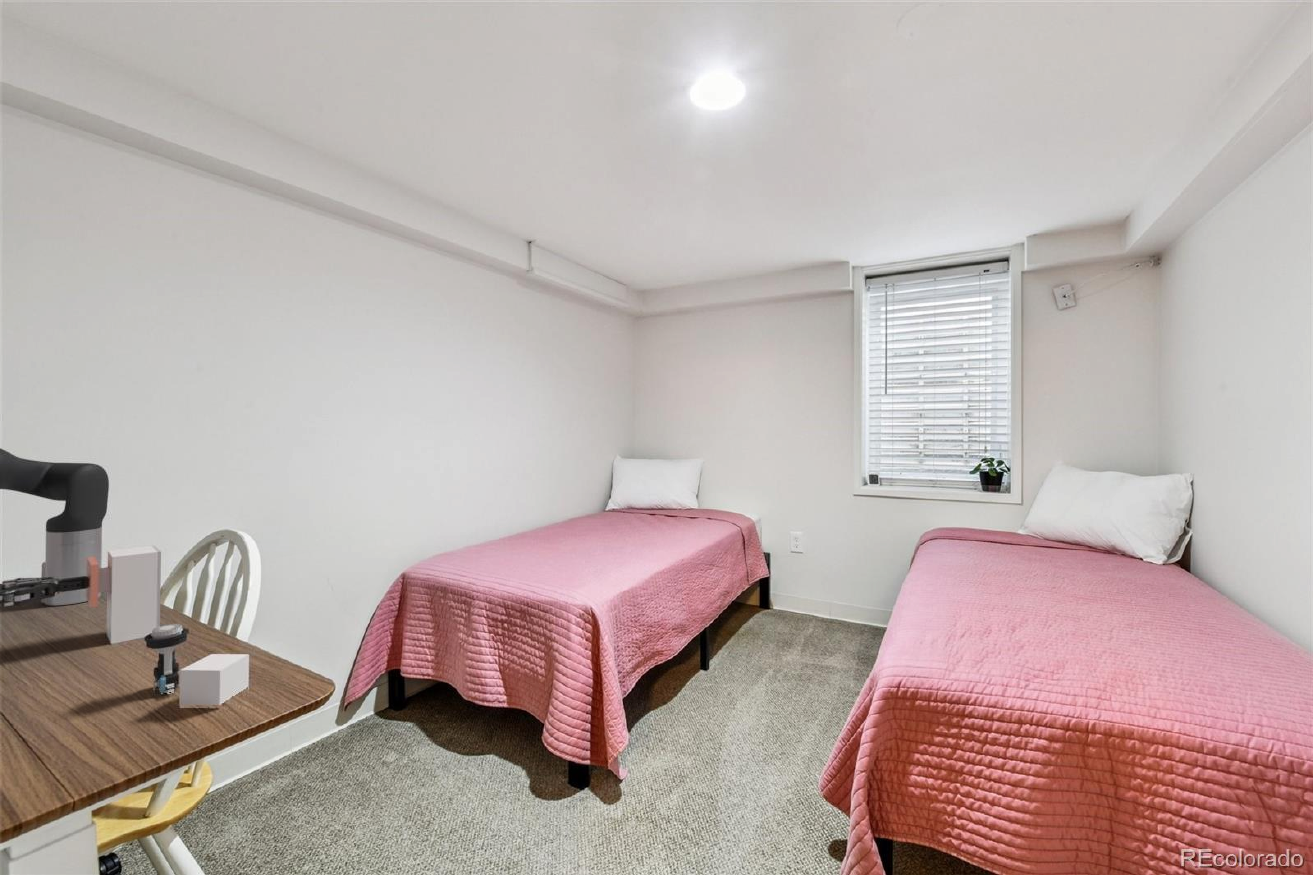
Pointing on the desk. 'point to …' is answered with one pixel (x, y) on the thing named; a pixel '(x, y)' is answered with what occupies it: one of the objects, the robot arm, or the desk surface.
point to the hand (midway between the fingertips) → (88, 581)
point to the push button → (166, 654)
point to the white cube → (214, 679)
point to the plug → (97, 581)
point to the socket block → (133, 593)
